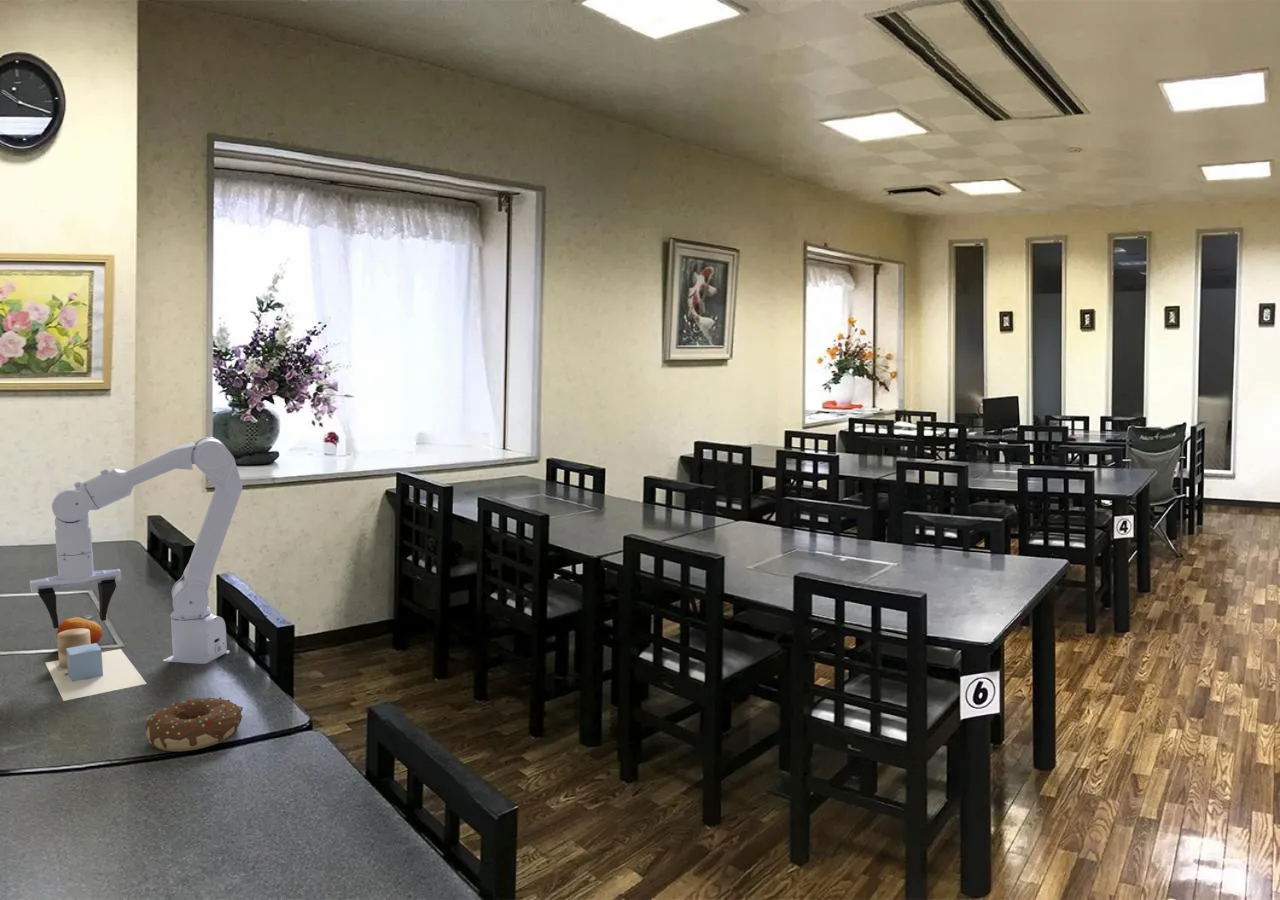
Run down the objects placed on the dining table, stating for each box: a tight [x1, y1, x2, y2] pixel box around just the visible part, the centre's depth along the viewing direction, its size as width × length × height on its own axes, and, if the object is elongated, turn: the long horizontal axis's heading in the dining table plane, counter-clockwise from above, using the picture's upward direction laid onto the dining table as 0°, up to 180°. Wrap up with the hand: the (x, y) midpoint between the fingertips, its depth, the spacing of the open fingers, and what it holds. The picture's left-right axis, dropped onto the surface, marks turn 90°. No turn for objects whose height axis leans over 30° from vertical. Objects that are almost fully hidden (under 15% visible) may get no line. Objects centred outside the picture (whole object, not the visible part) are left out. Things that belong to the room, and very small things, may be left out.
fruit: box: [56, 616, 103, 645], centre depth 187 cm, size 8×8×8 cm
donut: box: [145, 696, 244, 752], centre depth 146 cm, size 14×14×5 cm
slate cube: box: [66, 643, 103, 682], centre depth 172 cm, size 5×5×5 cm
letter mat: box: [44, 648, 147, 702], centre depth 173 cm, size 13×25×1 cm, turn 39°
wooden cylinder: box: [56, 628, 91, 668], centre depth 178 cm, size 5×5×6 cm
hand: (79, 623), depth 173 cm, fingers open, 7 cm apart
